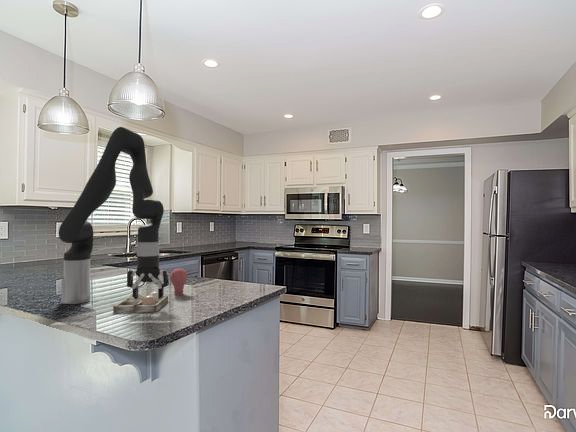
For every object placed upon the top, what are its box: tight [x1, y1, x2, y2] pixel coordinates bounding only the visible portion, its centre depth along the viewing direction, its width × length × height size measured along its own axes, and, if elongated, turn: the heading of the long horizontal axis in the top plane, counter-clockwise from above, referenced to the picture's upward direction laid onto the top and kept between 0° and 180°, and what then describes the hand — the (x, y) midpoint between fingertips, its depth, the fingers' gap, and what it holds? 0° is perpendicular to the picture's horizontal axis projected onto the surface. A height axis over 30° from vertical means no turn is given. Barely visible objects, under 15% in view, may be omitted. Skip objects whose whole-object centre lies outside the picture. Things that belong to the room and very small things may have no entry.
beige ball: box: [142, 295, 156, 305], centre depth 124 cm, size 5×5×5 cm
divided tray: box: [112, 295, 169, 314], centre depth 128 cm, size 15×15×3 cm
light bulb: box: [169, 268, 188, 296], centre depth 147 cm, size 7×7×12 cm
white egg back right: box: [148, 290, 161, 300], centre depth 131 cm, size 5×5×5 cm
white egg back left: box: [129, 291, 144, 301], centre depth 131 cm, size 5×5×5 cm
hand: (148, 298), depth 124 cm, fingers open, 8 cm apart
